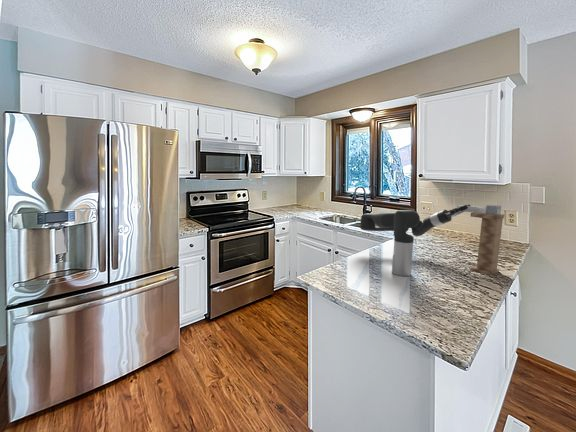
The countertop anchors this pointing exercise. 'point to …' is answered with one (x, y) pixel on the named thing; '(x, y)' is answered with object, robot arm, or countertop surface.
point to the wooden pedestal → (488, 243)
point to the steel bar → (483, 209)
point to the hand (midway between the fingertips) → (468, 206)
